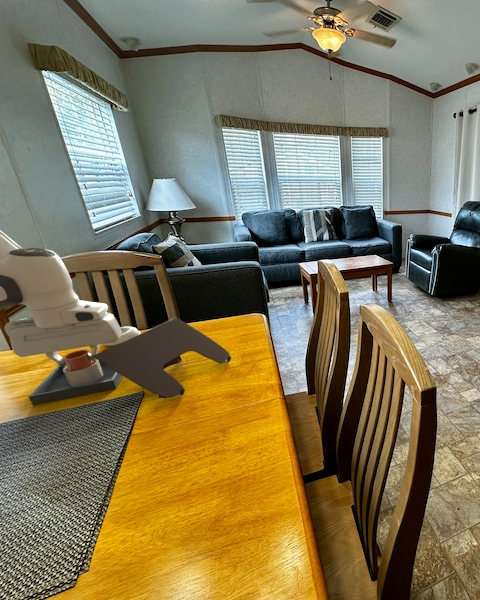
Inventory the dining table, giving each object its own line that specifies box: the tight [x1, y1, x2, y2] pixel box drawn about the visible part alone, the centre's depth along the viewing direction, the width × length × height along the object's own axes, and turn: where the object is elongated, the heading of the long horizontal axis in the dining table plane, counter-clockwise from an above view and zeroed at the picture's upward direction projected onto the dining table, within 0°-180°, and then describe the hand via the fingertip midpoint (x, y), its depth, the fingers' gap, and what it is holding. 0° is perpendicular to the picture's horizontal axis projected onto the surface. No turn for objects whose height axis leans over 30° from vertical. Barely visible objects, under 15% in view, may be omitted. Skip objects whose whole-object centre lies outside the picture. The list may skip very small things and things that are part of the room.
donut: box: [102, 326, 140, 347], centre depth 108 cm, size 10×4×10 cm
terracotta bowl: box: [63, 348, 95, 372], centre depth 85 cm, size 5×5×4 cm
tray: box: [28, 360, 124, 406], centre depth 87 cm, size 16×14×3 cm
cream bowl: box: [63, 360, 104, 387], centre depth 86 cm, size 7×7×4 cm
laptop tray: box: [93, 317, 232, 399], centre depth 90 cm, size 23×23×9 cm
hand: (80, 362), depth 85 cm, fingers closed on terracotta bowl, 5 cm apart
